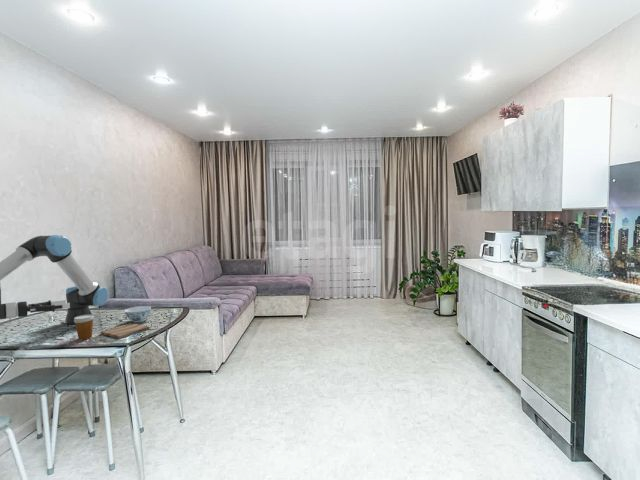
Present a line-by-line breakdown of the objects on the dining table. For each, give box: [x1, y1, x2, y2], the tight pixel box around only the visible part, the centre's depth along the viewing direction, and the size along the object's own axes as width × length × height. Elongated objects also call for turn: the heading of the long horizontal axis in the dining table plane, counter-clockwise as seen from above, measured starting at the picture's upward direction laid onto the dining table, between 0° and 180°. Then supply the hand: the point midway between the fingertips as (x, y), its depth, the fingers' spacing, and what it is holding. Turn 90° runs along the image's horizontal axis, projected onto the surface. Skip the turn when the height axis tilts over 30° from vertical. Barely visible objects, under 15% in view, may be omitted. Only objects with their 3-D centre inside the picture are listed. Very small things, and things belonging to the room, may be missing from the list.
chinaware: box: [124, 305, 152, 324], centre depth 242 cm, size 15×15×8 cm
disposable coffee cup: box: [74, 314, 95, 341], centre depth 211 cm, size 10×10×12 cm
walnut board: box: [100, 322, 150, 339], centre depth 220 cm, size 18×18×2 cm
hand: (67, 304), depth 206 cm, fingers open, 13 cm apart
